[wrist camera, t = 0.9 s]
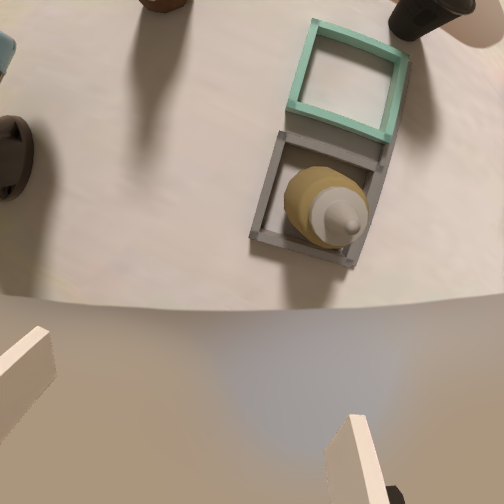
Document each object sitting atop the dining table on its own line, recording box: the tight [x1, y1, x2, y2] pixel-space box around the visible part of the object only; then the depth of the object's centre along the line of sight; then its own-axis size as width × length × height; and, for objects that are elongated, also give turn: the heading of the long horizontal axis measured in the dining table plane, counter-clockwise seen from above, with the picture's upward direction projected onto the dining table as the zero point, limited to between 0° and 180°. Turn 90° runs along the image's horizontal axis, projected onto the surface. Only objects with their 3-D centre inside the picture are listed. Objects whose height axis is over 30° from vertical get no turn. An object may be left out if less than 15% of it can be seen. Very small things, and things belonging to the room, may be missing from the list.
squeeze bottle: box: [284, 166, 369, 249], centre depth 27 cm, size 8×8×18 cm
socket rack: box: [249, 18, 412, 268], centre depth 33 cm, size 14×29×2 cm, turn 164°
